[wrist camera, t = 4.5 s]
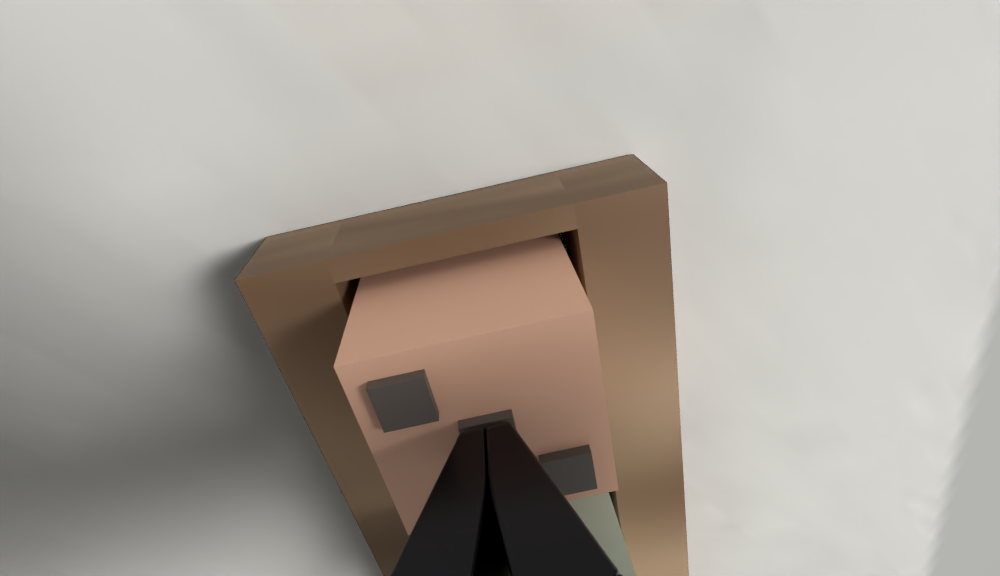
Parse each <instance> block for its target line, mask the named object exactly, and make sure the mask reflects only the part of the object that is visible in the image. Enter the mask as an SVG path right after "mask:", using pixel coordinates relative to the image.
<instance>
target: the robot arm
mask: <svg viewBox="0 0 1000 576" xmlns="http://www.w3.org/2000/svg"><path fill="white" fill-rule="evenodd" d="M390 576H623V575H622V574H619V571H618V569H617V567H616V566H615V565H614V563H613V562H612V560H611V559H610V558H609V556H608V555H607V554H606V552H605V551H604V549H603V548H602V547H601V545H600V544H599V543H598V541H597V540H596V539H595V537H594V536H593V534H592V533H591V532H590V530H589V529H588V528H587V526H586V525H585V523H584V522H583V521H582V519H581V518H580V517H579V515H578V514H577V512H576V511H575V510H574V508H573V507H572V506H571V504H570V503H569V502H568V500H567V499H566V497H565V496H564V495H563V493H562V492H561V491H560V489H559V488H558V486H557V485H556V484H555V482H554V481H553V480H552V478H551V477H550V476H549V474H548V473H547V471H546V470H545V469H544V467H543V466H542V465H541V463H540V462H539V460H538V459H537V458H536V456H535V455H534V454H533V452H532V451H531V449H530V448H529V447H528V445H527V444H526V443H525V441H524V440H523V439H522V437H521V436H520V434H519V433H518V432H517V430H516V429H515V428H514V426H513V425H512V424H511V423H510V422H503V423H499V424H494V425H490V426H488V427H487V429H486V430H485V429H484V428H476V429H471V430H467V431H463V432H461V433H460V434H459V436H458V438H457V440H456V442H455V444H454V446H453V448H452V450H451V452H450V454H449V456H448V458H447V460H446V463H445V465H444V467H443V469H442V471H441V473H440V475H439V477H438V479H437V481H436V483H435V485H434V487H433V489H432V491H431V493H430V495H429V497H428V499H427V501H426V503H425V505H424V508H423V510H422V512H421V514H420V516H419V518H418V520H417V522H416V524H415V526H414V528H413V530H412V532H411V534H410V536H409V538H408V540H407V542H406V544H405V546H404V548H403V550H402V552H401V555H400V557H399V559H398V561H397V563H396V565H395V567H394V569H393V571H392V573H391V575H390Z"/></svg>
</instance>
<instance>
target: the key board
mask: <svg viewBox="0 0 1000 576" xmlns="http://www.w3.org/2000/svg"><path fill="white" fill-rule="evenodd" d="M561 232H564V236H565V242H566V248H567V254H568V257H569V259H570V261H571V263H572V265H573V268H574V270H575V272H576V274H577V276H578V278H579V280H580V282H581V285H582V287H583V289H584V291H585V293H586V295H587V297H588V300H589V302H590V304H591V306H592V308H593V313H594V320H595V327H596V334H597V341H598V348H599V355H600V362H601V369H602V376H603V383H604V390H605V397H606V404H607V411H608V419H609V426H610V433H611V440H612V447H613V454H614V461H615V468H616V475H617V482H618V489H619V490H616V491H612V492H609V495H610V498H611V501H612V504H613V507H614V510H615V513H616V516H617V519H618V522H619V525H620V528H621V531H622V535H623V538H624V541H625V544H626V547H627V550H628V553H629V556H630V559H631V562H632V565H633V568H634V571H635V574H636V576H689V570H688V552H687V534H686V516H685V498H684V480H683V462H682V444H681V426H680V408H679V390H678V372H677V354H676V336H675V318H674V300H673V282H672V264H671V246H670V227H669V209H668V191H667V182H666V181H665V180H663V179H662V178H661V177H660V176H659V175H657V174H656V173H655V172H654V171H653V170H652V169H650V168H649V167H648V166H647V165H646V164H644V163H643V162H642V161H641V160H640V159H639V158H637V157H636V156H635V155H634V154H631V155H626V156H622V157H618V158H613V159H609V160H604V161H600V162H596V163H591V164H587V165H582V166H578V167H574V168H569V169H565V170H560V171H556V172H552V173H547V174H543V175H538V176H534V177H529V178H525V179H521V180H516V181H512V182H507V183H503V184H499V185H494V186H490V187H485V188H481V189H477V190H472V191H468V192H463V193H459V194H455V195H450V196H446V197H441V198H437V199H433V200H428V201H424V202H419V203H415V204H411V205H406V206H402V207H397V208H393V209H388V210H384V211H380V212H375V213H371V214H366V215H362V216H358V217H353V218H349V219H344V220H340V221H336V222H331V223H327V224H322V225H318V226H314V227H309V228H305V229H300V230H296V231H292V232H287V233H283V234H278V235H274V236H270V237H266V239H265V240H264V241H263V243H262V244H261V245H260V247H259V248H258V249H257V251H256V252H255V253H254V255H253V256H252V257H251V259H250V260H249V261H248V263H247V264H246V265H245V267H244V268H243V269H242V271H241V272H240V273H239V275H238V276H237V277H236V279H235V282H236V284H237V286H238V288H239V290H240V292H241V294H242V296H243V298H244V300H245V302H246V304H247V306H248V308H249V310H250V312H251V314H252V316H253V318H254V320H255V322H256V324H257V326H258V328H259V330H260V332H261V334H262V336H263V338H264V340H265V342H266V344H267V345H268V347H269V349H270V351H271V353H272V355H273V357H274V359H275V361H276V363H277V365H278V367H279V369H280V371H281V373H282V375H283V377H284V379H285V381H286V383H287V385H288V387H289V389H290V391H291V393H292V395H293V397H294V399H295V401H296V403H297V405H298V407H299V409H300V411H301V413H302V415H303V417H304V419H305V421H306V423H307V425H308V426H309V428H310V430H311V432H312V434H313V436H314V438H315V440H316V442H317V444H318V446H319V448H320V450H321V452H322V454H323V456H324V458H325V460H326V462H327V464H328V466H329V468H330V470H331V472H332V474H333V476H334V478H335V480H336V482H337V484H338V486H339V488H340V490H341V492H342V494H343V496H344V498H345V500H346V502H347V504H348V506H349V507H350V509H351V511H352V513H353V515H354V517H355V519H356V521H357V523H358V525H359V527H360V529H361V531H362V533H363V535H364V537H365V539H366V541H367V543H368V545H369V547H370V549H371V551H372V553H373V555H374V557H375V559H376V561H377V563H378V565H379V567H380V569H381V571H382V573H383V575H384V576H390V575H391V573H392V571H393V569H394V567H395V565H396V563H397V561H398V559H399V557H400V555H401V552H402V550H403V548H404V546H405V544H406V542H407V540H408V538H409V536H410V535H408V534H407V531H406V529H405V527H404V525H403V522H402V520H401V518H400V516H399V513H398V511H397V509H396V507H395V504H394V502H393V500H392V498H391V495H390V493H389V491H388V488H387V486H386V484H385V482H384V479H383V477H382V475H381V473H380V470H379V468H378V466H377V464H376V461H375V459H374V457H373V455H372V452H371V450H370V448H369V446H368V443H367V441H366V439H365V437H364V434H363V432H362V430H361V428H360V425H359V423H358V421H357V419H356V416H355V414H354V412H353V410H352V407H351V405H350V403H349V401H348V398H347V396H346V394H345V392H344V389H343V387H342V385H341V383H340V380H339V378H338V376H337V374H336V371H335V369H334V363H335V360H336V357H337V353H338V350H339V347H340V344H341V340H342V337H343V334H344V330H345V327H346V324H347V321H348V317H349V314H350V311H351V307H352V304H353V301H354V298H355V294H356V291H357V288H358V285H359V281H360V278H361V277H365V276H370V275H374V274H379V273H383V272H388V271H392V270H397V269H401V268H406V267H410V266H414V265H419V264H423V263H428V262H432V261H437V260H441V259H446V258H450V257H455V256H459V255H463V254H468V253H472V252H477V251H481V250H486V249H490V248H495V247H499V246H504V245H508V244H512V243H517V242H521V241H526V240H530V239H535V238H539V237H544V236H548V235H553V234H557V233H561Z"/></svg>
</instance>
